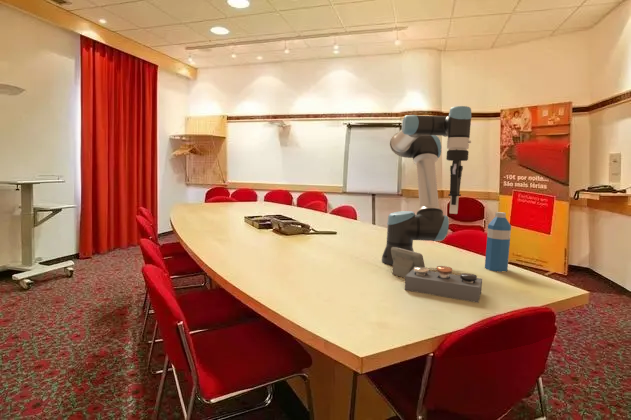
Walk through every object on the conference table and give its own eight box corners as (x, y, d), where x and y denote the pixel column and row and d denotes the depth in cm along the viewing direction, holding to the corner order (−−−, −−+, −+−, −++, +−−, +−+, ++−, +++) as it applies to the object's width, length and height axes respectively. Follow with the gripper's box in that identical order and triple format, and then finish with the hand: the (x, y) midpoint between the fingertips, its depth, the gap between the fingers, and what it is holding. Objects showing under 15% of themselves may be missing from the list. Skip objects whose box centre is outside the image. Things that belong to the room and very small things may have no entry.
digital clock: (428, 280, 148) (430, 253, 146) (409, 282, 144) (411, 254, 143) (403, 269, 162) (405, 245, 161) (385, 271, 159) (387, 246, 158)
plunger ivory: (411, 283, 137) (412, 268, 136) (414, 279, 141) (415, 265, 141) (426, 285, 134) (426, 271, 134) (429, 281, 139) (429, 267, 138)
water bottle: (510, 272, 163) (515, 214, 160) (487, 270, 164) (491, 213, 162) (504, 267, 172) (509, 212, 169) (482, 265, 173) (486, 211, 171)
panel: (404, 289, 135) (405, 276, 134) (412, 281, 145) (413, 268, 145) (478, 302, 124) (479, 287, 123) (481, 292, 134) (482, 278, 134)
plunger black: (458, 290, 129) (459, 275, 129) (460, 286, 134) (461, 272, 133) (475, 293, 127) (476, 278, 126) (476, 289, 132) (477, 274, 131)
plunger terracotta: (434, 283, 133) (435, 268, 132) (437, 279, 137) (438, 265, 137) (450, 285, 130) (451, 270, 130) (452, 281, 135) (453, 267, 135)
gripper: (466, 148, 133) (461, 215, 135) (470, 150, 144) (466, 212, 147) (444, 148, 136) (439, 214, 139) (449, 150, 148) (445, 211, 150)
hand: (453, 213), depth 143 cm, fingers closed
